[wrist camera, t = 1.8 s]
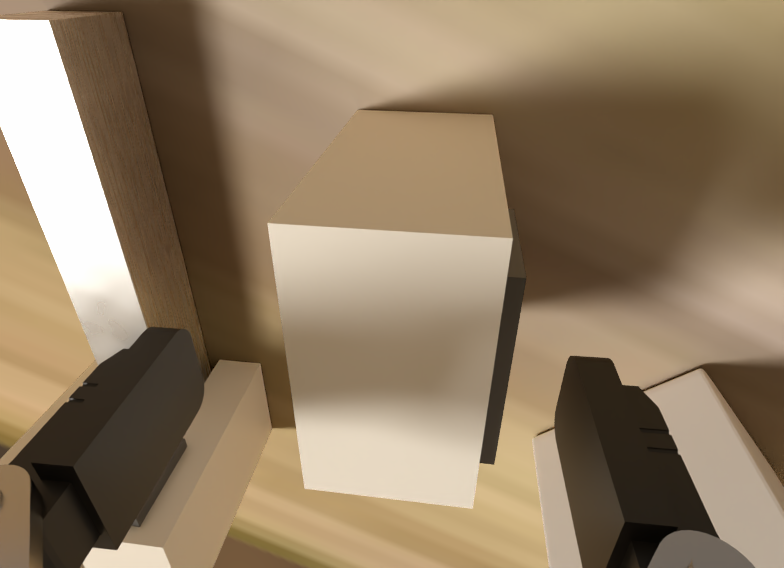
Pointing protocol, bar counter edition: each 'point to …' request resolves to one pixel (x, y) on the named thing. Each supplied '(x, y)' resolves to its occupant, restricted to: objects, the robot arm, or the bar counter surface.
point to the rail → (95, 174)
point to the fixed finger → (191, 474)
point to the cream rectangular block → (400, 305)
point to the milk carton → (706, 467)
